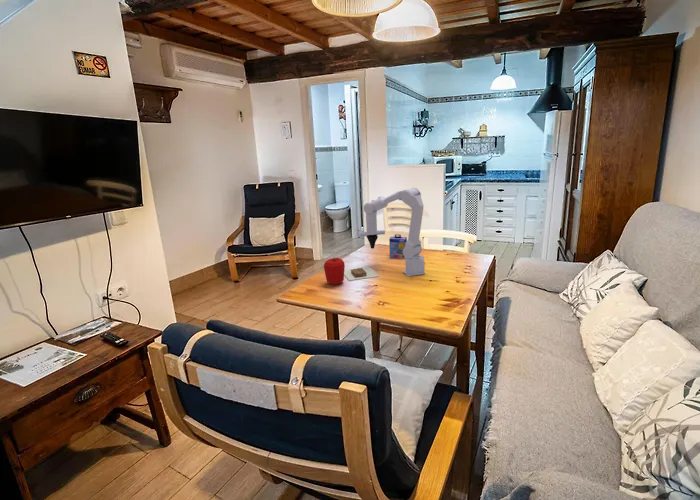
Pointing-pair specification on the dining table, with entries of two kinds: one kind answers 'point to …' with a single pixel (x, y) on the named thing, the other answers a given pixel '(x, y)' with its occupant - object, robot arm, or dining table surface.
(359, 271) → the tile
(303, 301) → the dining table surface
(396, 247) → the ink cartridge box
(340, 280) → the apple
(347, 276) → the mat
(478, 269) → the dining table surface
